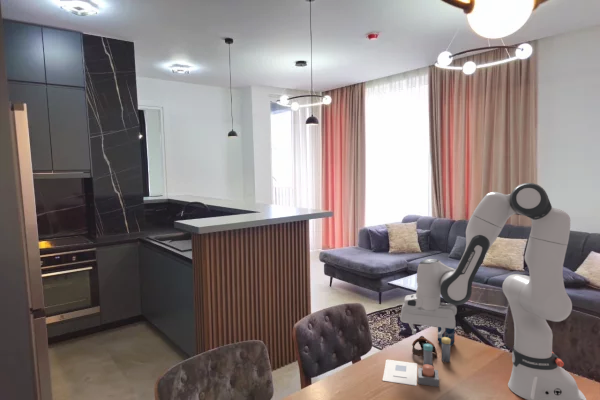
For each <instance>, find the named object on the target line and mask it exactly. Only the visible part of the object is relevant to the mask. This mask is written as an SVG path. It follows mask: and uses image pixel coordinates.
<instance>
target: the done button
mask: <svg viewBox="0 0 600 400" xmlns="http://www.w3.org/2000/svg"><path fill="white" fill-rule="evenodd" d="M422 368H423V376H426V377H433V378H434V370H435V367H434V366H433V364H432V365H429V364H425V365H424V364H422Z"/></svg>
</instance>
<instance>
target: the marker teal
mask: <svg viewBox="0 0 600 400" xmlns="http://www.w3.org/2000/svg"><path fill="white" fill-rule="evenodd" d="M423 349H424V355H423V365H425V364H429V365H432V366H433V352H432V350H433V346H432V345H431V344H424V345H423Z"/></svg>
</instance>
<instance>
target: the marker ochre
mask: <svg viewBox="0 0 600 400" xmlns="http://www.w3.org/2000/svg"><path fill="white" fill-rule="evenodd" d="M450 343H451V339H450V338H448V337H442V345H441V361H442V362H444V363H450V362H451V346H450Z"/></svg>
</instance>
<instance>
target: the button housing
mask: <svg viewBox="0 0 600 400" xmlns="http://www.w3.org/2000/svg"><path fill="white" fill-rule="evenodd" d="M417 384H418V385H423V386H431V387H438V388H439V387H440V377H439V370H438V369H434V378H433V377H426V376H423V367H417Z"/></svg>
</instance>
